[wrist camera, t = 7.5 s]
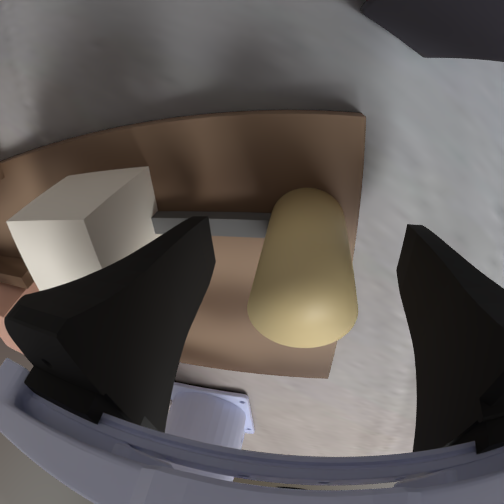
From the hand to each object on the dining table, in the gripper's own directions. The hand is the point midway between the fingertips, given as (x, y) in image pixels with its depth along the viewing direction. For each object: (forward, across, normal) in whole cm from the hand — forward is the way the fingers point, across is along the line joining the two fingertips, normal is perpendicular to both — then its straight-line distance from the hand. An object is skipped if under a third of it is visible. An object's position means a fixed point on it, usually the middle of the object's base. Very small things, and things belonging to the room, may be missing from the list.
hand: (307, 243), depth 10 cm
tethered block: (+2, +5, 0) cm, 5 cm away
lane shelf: (+3, +12, +4) cm, 13 cm away
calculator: (+3, -6, -12) cm, 14 cm away
